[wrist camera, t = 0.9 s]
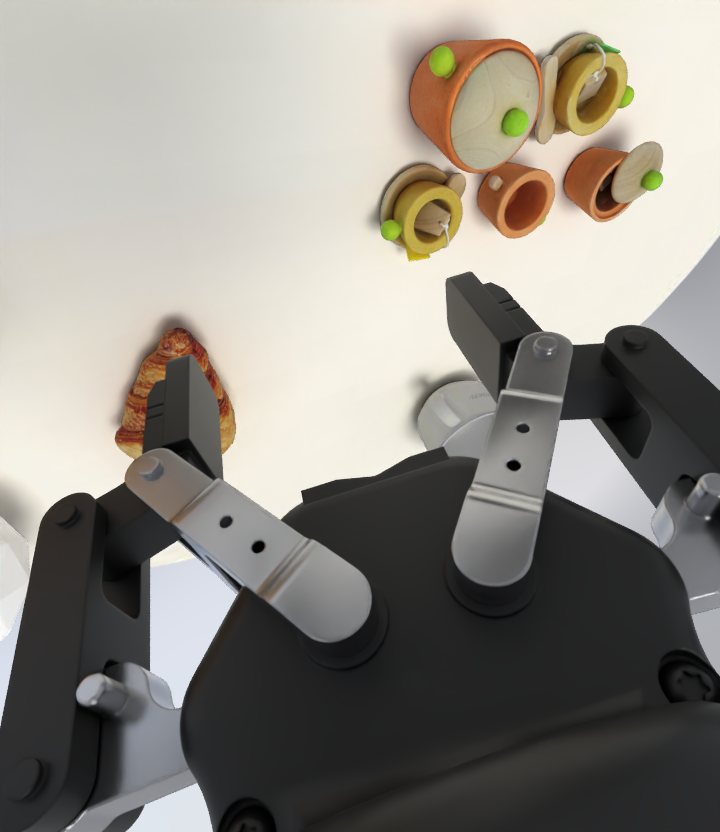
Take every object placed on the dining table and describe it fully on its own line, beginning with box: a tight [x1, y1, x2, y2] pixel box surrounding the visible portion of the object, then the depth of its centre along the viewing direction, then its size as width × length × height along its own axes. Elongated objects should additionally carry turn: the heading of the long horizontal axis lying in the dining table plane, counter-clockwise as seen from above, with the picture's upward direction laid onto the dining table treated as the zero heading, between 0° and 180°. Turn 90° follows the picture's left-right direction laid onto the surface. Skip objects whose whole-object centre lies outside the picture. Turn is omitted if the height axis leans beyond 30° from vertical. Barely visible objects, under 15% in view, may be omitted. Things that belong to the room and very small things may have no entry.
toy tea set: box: [380, 33, 663, 262], centre depth 37 cm, size 26×16×10 cm, turn 89°
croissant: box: [115, 328, 236, 460], centre depth 43 cm, size 21×10×8 cm, turn 167°
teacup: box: [418, 381, 497, 459], centre depth 57 cm, size 14×11×8 cm
